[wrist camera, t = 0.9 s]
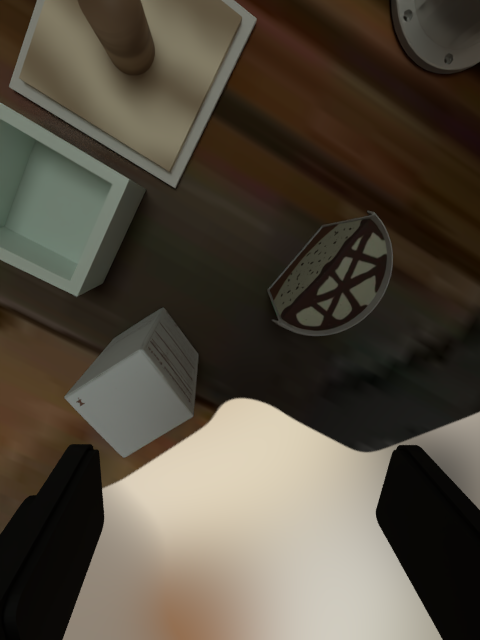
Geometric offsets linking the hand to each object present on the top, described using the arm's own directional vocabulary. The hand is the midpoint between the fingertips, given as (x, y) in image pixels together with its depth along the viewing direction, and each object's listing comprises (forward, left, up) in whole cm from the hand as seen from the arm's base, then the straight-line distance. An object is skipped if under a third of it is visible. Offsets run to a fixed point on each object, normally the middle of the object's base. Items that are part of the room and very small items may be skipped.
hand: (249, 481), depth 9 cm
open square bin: (+9, -15, -26) cm, 31 cm away
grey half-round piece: (-10, +3, -26) cm, 28 cm away
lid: (-3, -23, -25) cm, 35 cm away
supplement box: (+10, +2, -26) cm, 28 cm away
